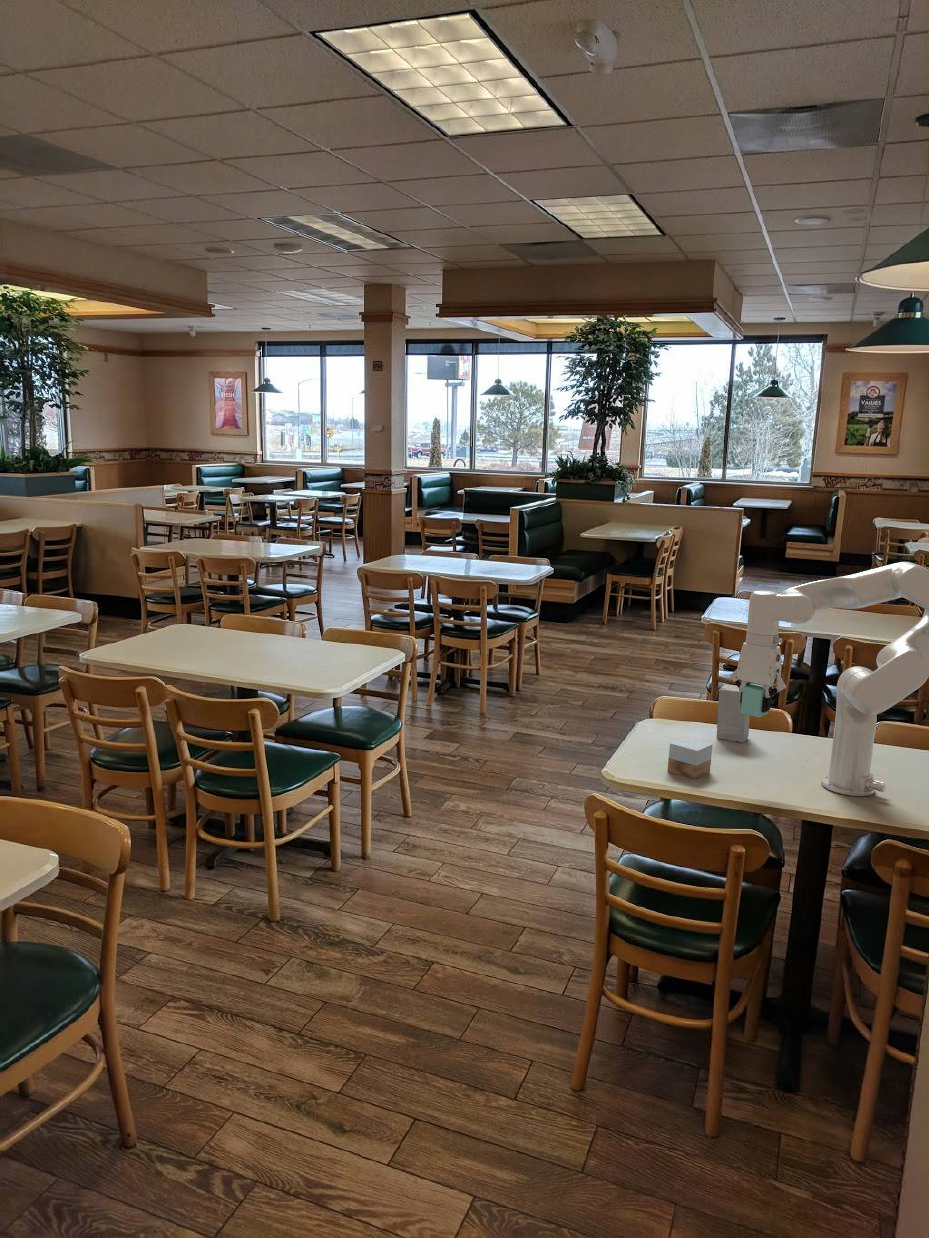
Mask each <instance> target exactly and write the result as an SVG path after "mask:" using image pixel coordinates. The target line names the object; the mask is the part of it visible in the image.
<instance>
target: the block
mask: <svg viewBox="0 0 929 1238" xmlns="http://www.w3.org/2000/svg"><path fill="white" fill-rule="evenodd" d="M763 697H765V694H764V688H763V685H758V684H753V683H750V684H749V685H746V686H743V693H742V704H741V713H743V714H747V715H750V717H751V716H752V717H755V718H761V717H764V716H766V715H769V711H767V712H765V713H763V712H762V700H763Z"/></svg>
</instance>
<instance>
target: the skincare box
mask: <svg viewBox="0 0 929 1238" xmlns="http://www.w3.org/2000/svg"><path fill="white" fill-rule="evenodd" d="M740 696H741V692H740V691H739V688H738V687H737V685H733V684H731V685H730V684H723V685H722V686H721V687H720V688H719V689H718V702H717V703H718V705H717V707H718V708H717V725H716V739H717V738H719V739H718V740H723V739H724V741H728V742H729V741H730V742H736V741H738V742H737V743H743V744H744V742H745V741H746V740H747V739H748V738H749V733H750V720H751V719H750V717H751V715H747V714H743V713H741V703H740Z"/></svg>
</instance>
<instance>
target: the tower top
mask: <svg viewBox="0 0 929 1238" xmlns="http://www.w3.org/2000/svg"><path fill="white" fill-rule="evenodd" d="M668 750H669V751H668V759H669V758H671V759H675V760H678V761H682V762H685V763H689V764H692V765H696V766H697V765H699V764H701V763H703V762H705V761H708V760H710V759H711V760H712V752H713V744H711V743H709V742H704V741H701V740H697V739H695V738H694V739H692V738H689V737H686V736H685V737H683V738H680V739H677V740H674V741H672V742H670V743H669V749H668Z"/></svg>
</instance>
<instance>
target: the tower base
mask: <svg viewBox="0 0 929 1238" xmlns="http://www.w3.org/2000/svg"><path fill="white" fill-rule="evenodd" d="M667 759H668V761H667V772H669V771H671V772H670V773H672V772H673V773H672V774H675V773H676V774H675V775H678V774H679V776H682V777H685V778H689V779H691V780H696V779H698V778H699V779H700V778H701V777H703V776H705V775H708V774H710V773H711V764H712V758H711V759H710V760H708V761H705V762H703V763H701V764H699V765H697V766H696V765H692V764H689V763H685V762H682V761H678V760H675V759H671V758H669V757H668V758H667ZM709 772H710V773H709ZM707 773H708V774H707Z"/></svg>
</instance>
